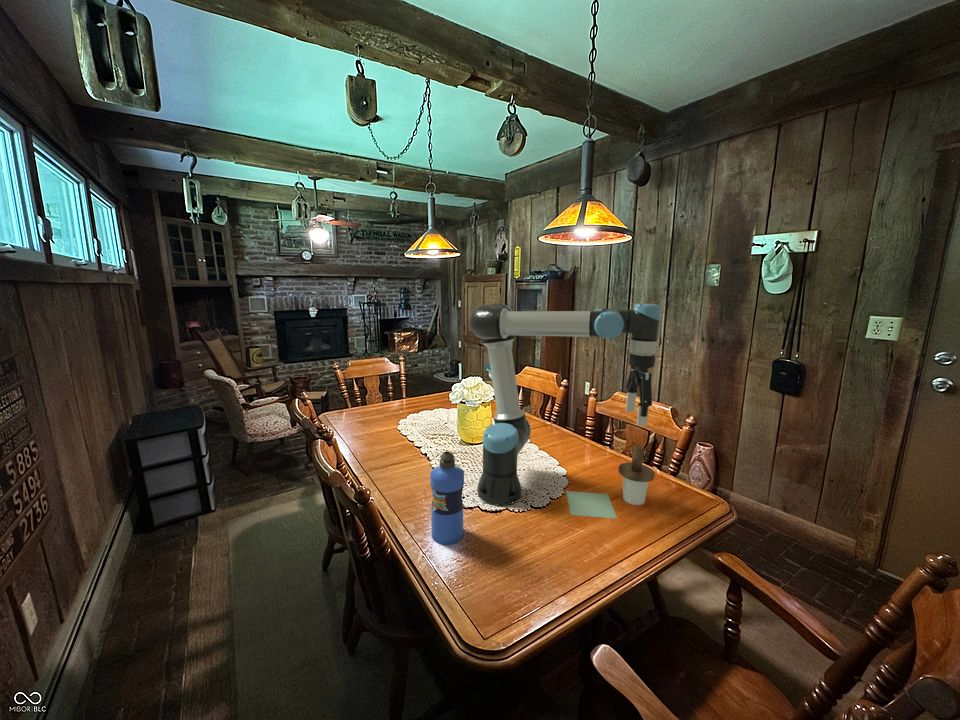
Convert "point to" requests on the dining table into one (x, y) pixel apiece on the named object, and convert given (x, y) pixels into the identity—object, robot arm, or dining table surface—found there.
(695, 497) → the dining table surface
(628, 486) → the white cup
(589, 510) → the mat
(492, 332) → the robot arm
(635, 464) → the lid
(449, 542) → the water bottle
